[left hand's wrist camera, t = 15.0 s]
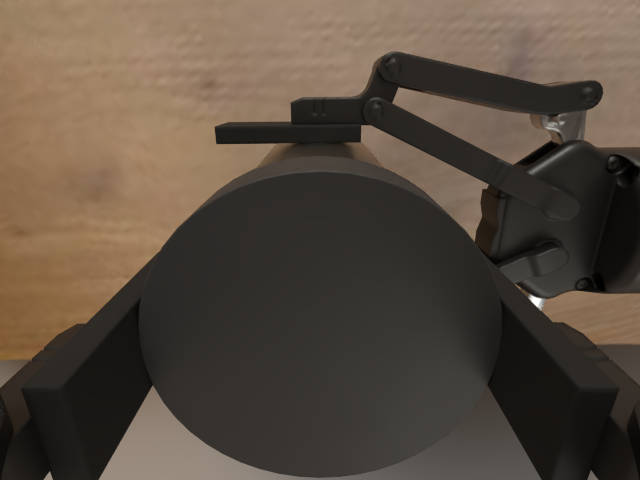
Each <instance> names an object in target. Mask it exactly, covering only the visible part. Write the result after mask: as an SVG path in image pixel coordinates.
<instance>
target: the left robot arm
mask: <svg viewBox="0 0 640 480" xmlns="http://www.w3.org/2000/svg"><path fill="white" fill-rule="evenodd" d="M158 254H159V252H158V253H157V254H156V255H155V256H154V257H153V258H152V259H151V260H150V261H149V262H148V263H147V264H146V265H145V266H144V267H143V268H142V269H141V270H140V271H139V272H138V273H137V274H136V275H135V276H134V277H133V278H132V279H131V280H130V281H129V282H128V283H127V284H126V285H125V286H124V287H123V288H122V289H121V290H120V291H119V292H118V293H117V294H116V295H115V296H114V297H113V298H112V299H111V300H110V301H109V302H108V303H107V304H106V305H104V306H103V307H102V308H101V309H100V310H99V311H98V312H97V313H96V314H95V315H94V316H93V317H92V318H91V319H90V320H89V321H88V322H87V323H86V324H76V325H74V326H73V327H71V328H69V329H67V330H66V331H64V332H62V333H60V334H59V335H57V336H56V337H55V338H54V339H53V340H52V341H51V342H50V343H49V344H47V345H46V346H45V347H44V350H41V351H40V352H39V353H38V354H37V355H36V356H34V357H33V358H32V361H31V362H28V363H27V364H26V365H25V366H24V367H23V368H21V369H20V370H19V371H18V372H17V373H16V374H15V375H14V376H13V377H12V378H11V379H10V380H9V381H7V382H6V383H5V384H4V385H3V386H2V387H1V388H0V480H44V478H45V477H46V475H47V474H48V473H49V471H50V472H51V475H52V478H53V480H99V478H100V476H101V474H102V473H103V471H104V469H105V468H106V466H107V464H108V462H109V461H110V459H111V457H112V455H113V454H114V452H115V450H116V448H117V446H118V445H119V443H120V441H121V440H122V438H123V436H124V434H125V432H126V431H127V429H128V427H129V425H130V424H131V422H132V420H133V419H134V417H135V415H136V413H137V412H138V410H139V408H140V406H141V405H142V403H143V401H144V399H145V398H146V396H147V394H148V392H149V391H150V389H151V387H152V385H153V384H152V381H151V379H150V377H149V375H148V372H147V370H146V367H145V364H144V360H143V356H142V351H141V346H140V341H139V332H138V321H139V306H140V301H141V296H142V291H143V287H144V284H145V281H146V279H147V276H148V273H149V271H150V268H151V266H152V264H153V262H154V261H155V259H156V257H157V256H158ZM482 254H483V253H482ZM483 256H484V258H485V259H486V261H487V263H488V265H489V267H490V269H491V271H492V274H493V276H494V279H495V282H496V285H497V288H498V291H499V297H500V302H501V308H502V337H501V342H500V348H499V353H498V357H497V362H496V366H495V369H494V372H493V374H492V376H491V378H490V381H489V383H488V387H489V389H490V390H491V392H492V394H493V396H494V397H495V399H496V401H497V402H498V404H499V406H500V408H501V409H502V411H503V413H504V415H505V416H506V418H507V420H508V422H509V423H510V425H511V427H512V429H513V430H514V432H515V434H516V436H517V437H518V439H519V441H520V443H521V444H522V446H523V448H524V450H525V451H526V453H527V455H528V457H529V458H530V460H531V462H532V464H533V465H534V467H535V469H536V471H537V472H538V474H539V476H540V478H541V479H542V480H587V479H588V476H589V473H590V470H592V472H593V473H594V474H595V476H596V477H597V478H598V480H640V386H639V385H638V384H637V383H636V382H635V381H634V380H633V379H632V378H631V377H629V376H628V375H627V374H626V373H625V372H624V371H623V370H622V369H621V368H620V367H619V366H618V365H616V364H615V363H614V362H613V361H612V360H609V357H608V356H607V355H606V354H604V353H603V352H602V351H601V350H600V349H597V346H596V345H595V344H594V343H592V342H591V341H590V340H589V339H588V338H587V337H586V336H585V335H584V334H583V333H581V332H579V331H577V330H576V329H574V328H572V327H570V326H568V325H567V324H565V323H553V322H552V321H551V320H550V319H549V318H548V317H547V316H546V315H545V314H544V313H543V312H542V311H541V310H540V309H539V308H538V307H537V306H536V305H535V304H534V303H533V302H532V301H531V300H530V299H529V298H528V297H527V296H526V295H525V294H524V293H523V292H522V291H521V290H520V289H519V288H518V287H516V286H515V285H514V284H513V283H512V282H511V281H510V280H509V279H508V278H507V277H506V276H505V275H504V274H503V273H502V272H501V271H500V270H499V269H498V268H497V267H496V266H495V265H494V264H493V263H492V262H491V261H490V260H489V259H488V258H487V257H486V256H485V255H484V254H483Z"/></svg>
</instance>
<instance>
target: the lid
mask: <svg viewBox="0 0 640 480" xmlns="http://www.w3.org/2000/svg"><path fill="white" fill-rule="evenodd" d="M138 332H139V341H140V346H141V351H142V356H143V360H144V364H145V367H146V370H147V372H148V375H149V377H150V379H151V381H152V384H153V386H154V388H155V389H156V391H157V393H158V394H159V396H160V397H161V399H162V401H163V402H164V404H165V405H166V406H167V407H168V409H169V410H170V411H171V412H172V414H173V415H174V416H175V417H176V418H177V419H178V420H179V421H180V422H181V423H182V424H183V425H184V426H185V427H186V428H187V429H188V430H189V431H190V432H191V433H193V434H194V435H195V436H197V437H198V438H199V439H200V440H202V441H203V442H204V443H206V444H207V445H209V446H211V447H212V448H214V449H216V450H217V451H219V452H221V453H222V454H224V455H226V456H229V457H231V458H233V459H235V460H237V461H239V462H242V463H245V464H247V465H250V466H253V467H256V468H259V469H262V470H266V471H271V472H274V473H278V474H285V475H292V476H299V477H317V478H321V477H341V476H349V475H356V474H362V473H366V472H370V471H375V470H379V469H382V468H385V467H388V466H391V465H394V464H397V463H399V462H401V461H403V460H406V459H408V458H410V457H412V456H415V455H416V454H418V453H420V452H422V451H423V450H425V449H427V448H428V447H430V446H432V445H433V444H435V443H436V442H437V441H439V440H440V439H441V438H443V437H444V436H445V435H447V434H448V433H449V432H450V431H451V430H453V429H454V428H455V427H456V426H457V425H458V424H459V423H460V422H461V421H462V420H463V419H464V418H465V417H466V415H467V414H468V413H469V412H470V411H471V410H472V408H473V407H474V406H475V405H476V403H477V402H478V400H479V398H480V397H481V395H482V394H483V392H484V391H485V389H486V387H487V385H488V383H489V381H490V378H491V376H492V374H493V372H494V369H495V366H496V362H497V357H498V353H499V348H500V342H501V337H502V308H501V302H500V297H499V291H498V288H497V285H496V282H495V279H494V276H493V274H492V271H491V269H490V267H489V265H488V263H487V261H486V259H485V258H484V256H483V254H482V252H481V250H480V249H479V247H478V246H477V245H476V243H475V242H474V241H473V240H472V238H471V237H470V236H469V234H468V233H467V232H466V231H465V230H464V229H463V228H462V227H461V226H460V225H459V224H458V223H457V222H456V221H455V220H454V219H453V218H452V217H451V216H450V215H449V214H448V213H447V212H446V211H444V210H443V209H442V208H441V207H440V206H439V205H438V204H437V203H436V202H435V201H434V200H433V199H432V198H431V197H430V196H429V195H428V194H426V193H425V192H424V191H423V190H421V189H420V188H418V187H417V186H416V185H414V184H413V183H411V182H410V181H409V180H407V179H405V178H403V177H401V176H399V175H397V174H395V173H393V172H391V171H389V170H387V169H384V168H381V167H379V166H376V165H373V164H370V163H367V162H363V161H358V160H353V159H349V158H342V157H328V156H314V157H298V158H293V159H288V160H282V161H277V162H274V163H271V164H268V165H265V166H262V167H259V168H256V169H254V170H252V171H250V172H248V173H246V174H244V175H242V176H240V177H238V178H236V179H234V180H233V181H231V182H230V183H228V184H227V185H225V186H224V187H222V188H221V189H219V190H218V191H217V192H216V193H215V194H213V195H212V196H211V197H210V198H209V199H208V200H207V201H206V202H205V203H204V204H203V205H201V206H200V207H199V208H198V209H197V210H196V211H195V212H194V213H193V214H192V215H191V216H190V217H189V218H188V219H187V220H186V221H185V222H184V223H183V224H181V225H180V226H179V227H178V228H177V229H176V231H175V232H174V233H173V234H172V236H171V237H170V238H169V239H168V241H167V242H166V243H165V244H164V246H163V247H162V249H161V250H160V252H159V254H158V256H157V257H156V259H155V261H154V262H153V264H152V266H151V268H150V271H149V273H148V276H147V279H146V281H145V284H144V287H143V291H142V296H141V301H140V306H139V321H138Z"/></svg>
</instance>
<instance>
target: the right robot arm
mask: <svg viewBox="0 0 640 480" xmlns="http://www.w3.org/2000/svg"><path fill="white" fill-rule="evenodd" d="M398 87H400V88H405V89H409V90H414V91H418V92H423V93H427V94H432V95H436V96H441V97H445V98H450V99H454V100H459V101H463V102H468V103H472V104H477V105H481V106H486V107H490V108H495V109H499V110H504V111H510V112H518V113H528V114H530V119H531V122H532V124H533V125H534V126H535V127H536V128H539V129H545V130H547V131H549V133H550V134H551V137H552V140H551V141H549V142H548V143H546V144H545V145H543V146H542V147H540V148H538V149H537V150H535V151H534V152H532V153H531V154H529V155H528V156H526V157H525V158H523V159H522V160H520V161H519V162H517V163H516V164H514V165H512V164H510V163H507V162H505V161H503V160H501V159H499V158H497V157H495V156H493V155H491V154H489V153H487V152H485V151H483V150H481V149H479V148H477V147H475V146H474V145H472V144H470V143H468V142H466V141H464V140H462V139H460V138H458V137H456V136H454V135H452V134H450V133H448V132H446V131H444V130H443V129H441V128H439V127H437V126H435V125H433V124H431V123H429V122H427V121H425V120H423V119H421V118H419V117H417V116H415V115H413V114H412V113H410V112H408V111H406V110H404V109H402V108H400V107H398V106H396V105H394V104H392V102H393V99H394V97H395V94H396V92H397V89H398ZM602 95H603V88H602V86H601V84H600V83H598V82H597V81H569V82H555V83H548V84H542V85H541V84H536V83H532V82H528V81H523V80H519V79H514V78H510V77H506V76H501V75H497V74H493V73H488V72H484V71H480V70H475V69H471V68H466V67H462V66H458V65H453V64H449V63H445V62H440V61H436V60H432V59H427V58H423V57H418V56H414V55H410V54H405V53H401V52H390V53H388V54H386V55H384V56H382V57H380V58H379V59H378V60H377V61H376V62H375V63H374V65H373V69H372V73H371V76H370V78H369V81H368V84H367V86H366V88H365V90H364V91H363V92H362V93H361V94H359V95H357V96H354V97H303V98H300V99H298V100H296V101H294V102H291V122H228V123H225V124H222V125H219V126H216V127H215V134H216V144H268V143H361V125H372V126H374V127H376V128H378V129H380V130H382V131H384V132H386V133H388V134H390V135H392V136H394V137H396V138H398V139H400V140H402V141H404V142H406V143H408V144H410V145H412V146H414V147H416V148H418V149H420V150H422V151H424V152H426V153H428V154H430V155H432V156H434V157H436V158H438V159H440V160H442V161H444V162H446V163H448V164H450V165H452V166H454V167H456V168H458V169H460V170H462V171H464V172H466V173H468V174H470V175H472V176H474V177H476V178H478V179H480V180H482V181H484V182H485V183H487V184H489V186H488V188H487V189H482V196H481V210H482V219H481V221H480V223H479V226H478V228H477V231H476V237H475V243H476V245H477V246H478V247H479V249H480V250H481V252H482V253H483V254H484V255H485V256H486V257H487V258H488V259H489V260H490V261H491V262H492V263H493V264H494V265H495V266H496V267H497V268H498V269H499V270H500V271H501V272H502V273H503V274H504V275H505V276H506V277H507V278H508V279H509V280H510V281H511V282H512V283H513V284H516V285H518V286H519V287H520V288H521V291H522V292H523V293H524V294H525V295H526V296H527V297H528V298H529V299H530V300H531V301H532V302H533V303H534V304H535V305H536V306H537V307H538V308H539V309H540V310H542V308H543V305H544V303H545V300H546V299H550V298H554V297H556V296H558V295H560V294H563V293H566V292H569V291H586V292H594V293H604V294H624V293H640V147H623V148H597V147H595V146H593V145H592V144H590V143H589V142H587V141H584V131H585V120H586V110H588V109H591V108H593V107H595V106H596V105H597V104H598V103H599V101H600V100H601V98H602Z"/></svg>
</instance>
